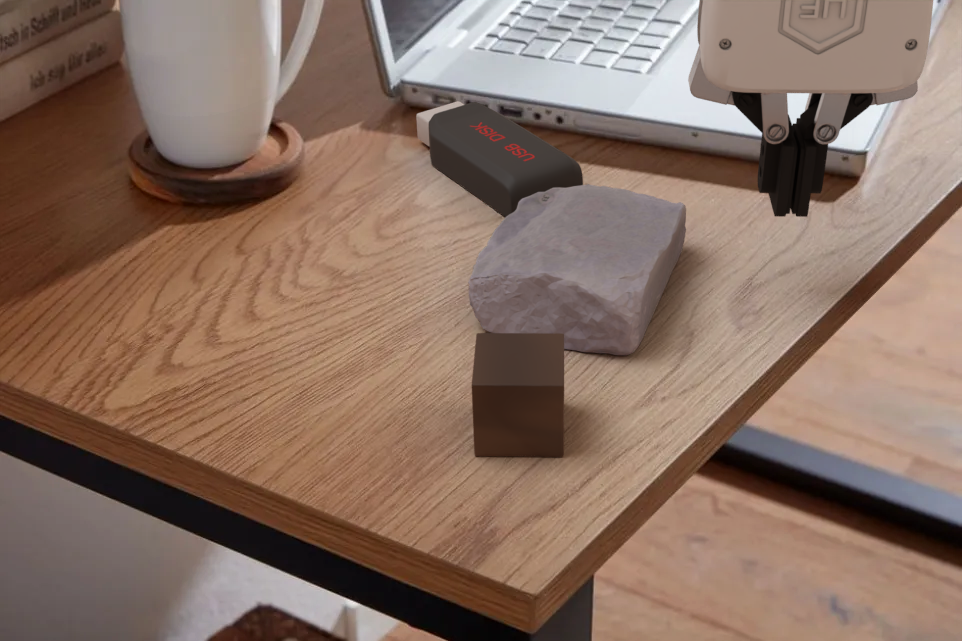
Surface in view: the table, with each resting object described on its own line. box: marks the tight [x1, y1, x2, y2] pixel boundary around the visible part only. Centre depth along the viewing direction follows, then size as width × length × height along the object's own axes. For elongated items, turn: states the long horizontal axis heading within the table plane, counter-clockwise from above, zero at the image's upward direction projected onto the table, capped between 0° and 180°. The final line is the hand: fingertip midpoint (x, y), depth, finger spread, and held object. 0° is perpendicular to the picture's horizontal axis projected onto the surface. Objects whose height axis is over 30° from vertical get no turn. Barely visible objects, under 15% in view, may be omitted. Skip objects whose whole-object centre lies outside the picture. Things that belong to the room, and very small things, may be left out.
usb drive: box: [415, 100, 584, 218], centre depth 82 cm, size 5×12×3 cm, turn 34°
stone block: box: [467, 183, 687, 356], centre depth 70 cm, size 12×5×10 cm
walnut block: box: [471, 332, 565, 458], centre depth 60 cm, size 4×4×4 cm
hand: (786, 203), depth 68 cm, fingers closed
